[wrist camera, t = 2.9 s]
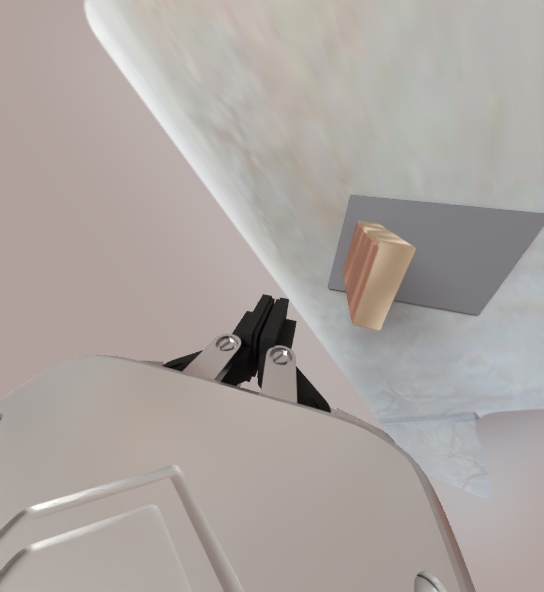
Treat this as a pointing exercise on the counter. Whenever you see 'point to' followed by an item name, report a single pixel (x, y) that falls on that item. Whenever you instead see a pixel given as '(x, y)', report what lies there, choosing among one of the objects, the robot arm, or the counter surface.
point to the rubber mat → (445, 248)
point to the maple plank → (374, 272)
